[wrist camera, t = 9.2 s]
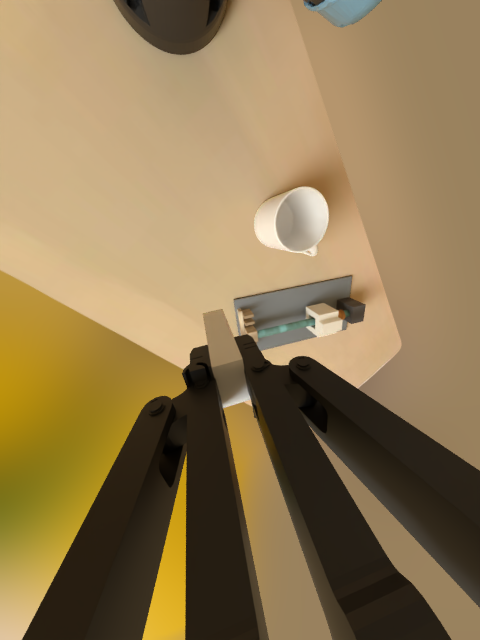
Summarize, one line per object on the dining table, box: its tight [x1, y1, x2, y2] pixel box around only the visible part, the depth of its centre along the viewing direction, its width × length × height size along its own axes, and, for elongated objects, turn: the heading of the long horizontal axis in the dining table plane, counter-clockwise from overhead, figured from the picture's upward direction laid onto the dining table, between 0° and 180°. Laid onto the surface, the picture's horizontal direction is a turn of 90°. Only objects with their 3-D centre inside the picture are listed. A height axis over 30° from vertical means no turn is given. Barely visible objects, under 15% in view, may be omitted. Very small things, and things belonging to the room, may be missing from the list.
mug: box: [254, 186, 329, 256], centre depth 35 cm, size 9×12×11 cm
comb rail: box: [237, 297, 365, 344], centre depth 45 cm, size 10×27×6 cm, turn 98°
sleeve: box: [306, 303, 343, 337], centre depth 44 cm, size 5×4×7 cm
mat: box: [234, 276, 352, 351], centre depth 48 cm, size 14×28×1 cm, turn 98°
